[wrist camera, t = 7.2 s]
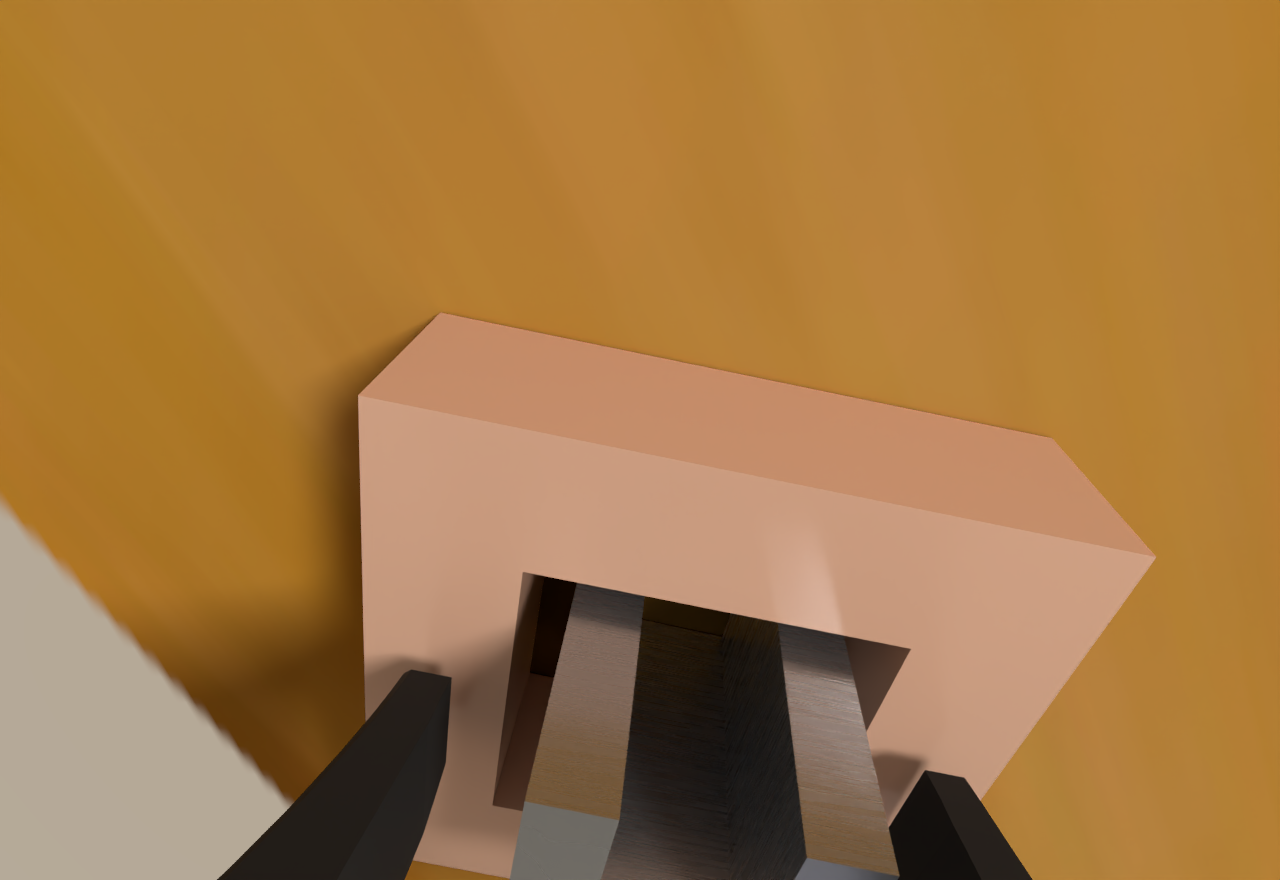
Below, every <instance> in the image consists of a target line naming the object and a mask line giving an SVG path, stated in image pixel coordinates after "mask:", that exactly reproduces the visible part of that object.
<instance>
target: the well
mask: <svg viewBox="0 0 1280 880" xmlns="http://www.w3.org/2000/svg"><path fill="white" fill-rule="evenodd" d="M358 413H359V457H360V500H361V544H362V588H363V631H364V675H365V718H366V721H367V720H368V719H369V718H370V716H371V715H372V714H373V713H374V711H375V710H376V709H377V708H378V706H379V705H380V704H381V703H382V701H383V700H384V699H385V698H386V696H387V695H388V694H389V692H390V691H391V690H392V688H393V687H394V686H395V684H396V683H397V682H398V680H399V679H400V678H401V676H402V675H403V674H404V673H405V672H407V671H409V670H411V669H412V670H417V671H422V672H427V673H432V674H437V675H443V676H448V677H452V682H451V696H450V710H449V725H448V739H447V753H446V764H445V767H444V771H443V774H442V777H441V780H440V783H439V787H438V790H437V793H436V796H435V799H434V803H433V806H432V809H431V812H430V815H429V818H428V821H427V824H426V827H425V830H424V833H423V836H422V839H421V841H420V843H419V846H418V848H417V851H416V853H415V856H414V858H413V860H414V861H419V862H425V863H430V864H435V865H441V866H446V867H451V868H456V869H462V870H467V871H472V872H477V873H483V874H488V875H493V876H498V877H504V878H509V879H510V875H511V870H512V864H513V859H514V854H515V849H516V844H517V838H518V833H519V828H520V823H521V818H522V812H523V807H524V802H525V798H526V793H527V789H528V785H529V781H530V777H531V773H532V768H533V764H534V760H535V756H536V752H537V748H538V744H539V739H540V735H541V731H542V727H543V723H544V719H545V714H546V710H547V706H548V702H549V698H550V694H551V689H552V685H553V681H554V678H553V677H548V676H542V675H537V674H532V673H530V667H531V661H532V654H533V648H534V641H535V634H536V628H537V621H538V615H539V608H540V601H541V595H542V588H543V582H544V576H547V577H552V578H557V579H562V580H567V581H572V582H577V583H582V584H587V585H592V586H597V587H602V588H607V589H612V590H617V591H622V592H627V593H632V594H637V595H642V596H647V597H652V598H657V599H662V600H667V601H672V602H677V603H682V604H688V605H693V606H698V607H703V608H708V609H713V610H718V611H723V612H728V613H733V614H738V615H743V616H748V617H753V618H758V619H763V620H768V621H773V622H778V623H783V624H788V625H793V626H798V627H803V628H808V629H813V630H818V631H823V632H828V633H834V634H839V635H844V639H845V643H846V647H847V652H848V656H849V660H850V665H851V669H852V673H853V678H854V682H855V686H856V690H857V695H858V699H859V703H860V708H861V712H862V716H863V721H864V725H865V729H866V734H867V738H868V742H869V746H870V751H871V755H872V759H873V764H874V768H875V772H876V777H877V781H878V785H879V789H880V794H881V798H882V802H883V807H884V811H885V815H886V820H887V824H888V828H889V826H890V825H891V823H892V821H893V820H894V818H895V817H896V815H897V813H898V812H899V810H900V809H901V807H902V806H903V804H904V802H905V801H906V799H907V798H908V796H909V794H910V793H911V791H912V790H913V788H914V787H915V785H916V783H917V782H918V780H919V779H920V777H921V775H922V774H923V772H924V771H925V770H928V771H933V772H939V773H944V774H949V775H954V776H959V777H964V778H965V779H966V780H967V782H968V783H969V785H970V786H971V788H972V789H973V791H974V792H975V794H976V795H977V797H978V798H979V800H981V799H982V798H983V796H984V795H985V793H986V792H987V791H988V789H989V788H990V786H991V785H992V784H993V782H994V781H995V780H996V778H997V777H998V775H999V774H1000V773H1001V771H1002V770H1003V769H1004V767H1005V766H1006V764H1007V763H1008V762H1009V760H1010V759H1011V757H1012V756H1013V755H1014V753H1015V752H1016V751H1017V749H1018V748H1019V746H1020V745H1021V744H1022V742H1023V741H1024V739H1025V738H1026V737H1027V735H1028V734H1029V733H1030V731H1031V730H1032V728H1033V727H1034V726H1035V724H1036V723H1037V722H1038V720H1039V719H1040V717H1041V716H1042V715H1043V713H1044V712H1045V710H1046V709H1047V708H1048V706H1049V705H1050V704H1051V702H1052V701H1053V699H1054V698H1055V697H1056V695H1057V694H1058V692H1059V691H1060V690H1061V688H1062V687H1063V686H1064V684H1065V683H1066V681H1067V680H1068V679H1069V677H1070V676H1071V675H1072V673H1073V672H1074V670H1075V669H1076V668H1077V666H1078V665H1079V663H1080V662H1081V661H1082V659H1083V658H1084V657H1085V655H1086V654H1087V652H1088V651H1089V650H1090V648H1091V647H1092V645H1093V644H1094V643H1095V641H1096V640H1097V639H1098V637H1099V636H1100V634H1101V633H1102V632H1103V630H1104V629H1105V628H1106V626H1107V625H1108V623H1109V622H1110V621H1111V619H1112V618H1113V616H1114V615H1115V614H1116V612H1117V611H1118V610H1119V608H1120V607H1121V605H1122V604H1123V603H1124V601H1125V600H1126V599H1127V597H1128V596H1129V594H1130V593H1131V592H1132V590H1133V589H1134V587H1135V586H1136V585H1137V583H1138V582H1139V581H1140V579H1141V578H1142V576H1143V575H1144V574H1145V572H1146V571H1147V569H1148V568H1149V567H1150V565H1151V564H1152V563H1153V561H1154V560H1155V558H1156V556H1155V555H1154V554H1153V553H1152V552H1151V550H1150V549H1149V548H1148V547H1147V546H1146V545H1145V544H1144V543H1143V541H1142V540H1141V539H1140V538H1139V537H1138V536H1137V535H1136V533H1135V532H1134V531H1133V530H1132V529H1131V528H1130V527H1129V525H1128V524H1127V523H1126V522H1125V521H1124V520H1123V519H1122V517H1121V516H1120V515H1119V514H1118V513H1117V512H1116V511H1115V509H1114V508H1113V507H1112V506H1111V505H1110V504H1109V503H1108V501H1107V500H1106V499H1105V498H1104V497H1103V496H1102V495H1101V494H1100V492H1099V491H1098V490H1097V489H1096V488H1095V487H1094V486H1093V484H1092V483H1091V482H1090V481H1089V480H1088V479H1087V478H1086V476H1085V475H1084V474H1083V473H1082V472H1081V471H1080V470H1079V468H1078V467H1077V466H1076V465H1075V464H1074V463H1073V462H1072V460H1071V459H1070V458H1069V457H1068V456H1067V455H1066V454H1065V452H1064V451H1063V450H1062V449H1061V448H1060V447H1059V446H1058V445H1057V443H1056V442H1055V441H1054V440H1053V439H1052V438H1048V437H1043V436H1038V435H1034V434H1029V433H1024V432H1019V431H1014V430H1009V429H1004V428H999V427H995V426H990V425H985V424H980V423H975V422H970V421H965V420H961V419H956V418H951V417H946V416H941V415H936V414H931V413H927V412H922V411H917V410H912V409H907V408H902V407H897V406H892V405H888V404H883V403H878V402H873V401H868V400H863V399H858V398H854V397H849V396H844V395H839V394H834V393H829V392H824V391H819V390H815V389H810V388H805V387H800V386H795V385H790V384H785V383H781V382H776V381H771V380H766V379H761V378H756V377H751V376H746V375H742V374H737V373H732V372H727V371H722V370H717V369H712V368H708V367H703V366H698V365H693V364H688V363H683V362H678V361H674V360H669V359H664V358H659V357H654V356H649V355H644V354H639V353H635V352H630V351H625V350H620V349H615V348H610V347H605V346H601V345H596V344H591V343H586V342H581V341H576V340H571V339H566V338H562V337H557V336H552V335H547V334H542V333H537V332H532V331H528V330H523V329H518V328H513V327H508V326H503V325H498V324H493V323H489V322H484V321H479V320H474V319H469V318H464V317H459V316H455V315H450V314H445V313H439V314H438V315H437V316H436V317H435V318H434V319H433V320H432V321H431V322H430V323H429V324H428V325H427V326H426V327H425V328H424V329H423V331H422V332H421V333H420V334H419V335H418V336H417V337H416V338H415V339H414V340H413V341H412V342H411V343H410V344H409V345H408V346H407V347H406V348H405V349H404V350H403V351H402V352H401V353H400V354H399V355H398V356H397V357H396V358H395V359H394V360H393V361H392V362H391V363H390V364H389V365H388V366H387V367H386V368H385V369H384V370H383V371H382V372H381V373H380V374H379V375H378V376H377V377H376V378H375V379H374V380H373V381H372V382H371V383H370V384H369V385H368V386H367V387H366V388H365V389H364V390H363V391H362V392H361V393H360V394H359V395H358Z"/></svg>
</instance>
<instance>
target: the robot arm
mask: <svg viewBox="0 0 1280 880" xmlns="http://www.w3.org/2000/svg"><path fill="white" fill-rule="evenodd" d="M451 682H452V677H448V676H443V675H437V674H432V673H427V672H422V671H417V670H412V669H411V670H409V671H407V672H405V673H404V674H403V675H402V676H401V678H400V679H399V680H398V682H397V683H396V684H395V686H394V687H393V688H392V690H391V691H390V692H389V694H388V695H387V696H386V698H385V699H384V700H383V701H382V703H381V704H380V705H379V706H378V708H377V709H376V710H375V711H374V713H373V714H372V715H371V716H370V718H369V719H368V720H367V721H366V722H365V724H364V725H363V726H362V727H361V728H360V730H359V731H358V732H357V733H356V734H355V735H354V737H353V738H352V739H351V740H350V741H349V742H348V744H347V745H346V746H345V747H344V748H343V749H342V751H341V752H340V753H339V754H338V755H337V756H336V757H335V758H334V760H333V761H332V762H331V763H330V764H329V765H328V766H327V767H326V768H325V769H324V771H323V772H322V773H321V774H320V775H319V776H318V777H317V778H316V779H315V780H314V782H313V783H312V784H311V785H310V786H309V787H308V788H307V789H306V790H305V791H304V793H303V794H302V795H301V796H300V797H299V798H298V799H297V800H296V801H295V802H294V803H293V804H292V805H291V807H290V808H289V809H288V810H287V811H286V812H285V813H284V814H283V815H282V816H281V817H280V818H279V819H278V820H277V821H276V822H275V823H274V824H273V825H272V826H271V827H270V828H269V829H268V830H267V831H266V832H265V833H264V834H263V835H262V836H261V837H260V838H259V839H258V840H257V841H256V842H255V843H254V844H253V845H252V846H251V847H250V848H249V849H248V850H247V851H246V852H245V853H244V854H243V855H242V856H241V857H240V858H239V859H238V860H237V861H236V862H235V863H234V864H233V865H232V866H231V867H230V868H229V869H228V870H227V871H226V872H225V873H224V874H223V875H222V876H221V877H219V879H217V880H404V879H405V877H406V875H407V872H408V870H409V867H410V865H411V863H412V860H413V858H414V856H415V853H416V851H417V848H418V846H419V843H420V841H421V839H422V836H423V833H424V830H425V827H426V824H427V821H428V818H429V815H430V812H431V809H432V806H433V803H434V799H435V796H436V793H437V790H438V787H439V783H440V780H441V777H442V774H443V771H444V767H445V764H446V753H447V739H448V725H449V710H450V696H451ZM889 833H890V837H891V841H892V845H893V850H894V854H895V858H896V863H897V867H898V871H899V876H900V877H899V878H898V880H1032V878H1031V877H1030V875H1029V874H1028V872H1027V871H1026V869H1025V868H1024V866H1023V865H1022V863H1021V862H1020V860H1019V859H1018V857H1017V856H1016V854H1015V853H1014V851H1013V850H1012V848H1011V847H1010V845H1009V844H1008V842H1007V841H1006V839H1005V838H1004V836H1003V835H1002V833H1001V832H1000V830H999V828H998V827H997V825H996V824H995V822H994V821H993V819H992V818H991V816H990V815H989V813H988V812H987V810H986V809H985V807H984V806H983V804H982V803H981V801H980V800H979V798H978V797H977V795H976V794H975V792H974V791H973V789H972V788H971V786H970V785H969V783H968V782H967V780H966V779H965V778H964V777H959V776H954V775H949V774H944V773H939V772H933V771H928V770H925V771H924V772H923V774H922V775H921V777H920V779H919V780H918V782H917V783H916V785H915V787H914V788H913V790H912V791H911V793H910V794H909V796H908V798H907V799H906V801H905V802H904V804H903V806H902V807H901V809H900V810H899V812H898V813H897V815H896V817H895V818H894V820H893V821H892V823H891V825H890V826H889Z"/></svg>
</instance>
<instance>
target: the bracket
mask: <svg viewBox="0 0 1280 880" xmlns="http://www.w3.org/2000/svg"><path fill="white" fill-rule="evenodd" d="M644 597H645V596H642V595H637V594H632V593H627V592H622V591H617V590H612V589H607V588H602V587H597V586H592V585H587V584H582V583H577V585H576V589H575V594H574V598H573V602H572V606H571V610H570V614H569V619H568V623H567V627H566V631H565V635H564V639H563V644H562V648H561V652H560V656H559V660H558V664H557V669H556V673H555V677H554V681H553V685H552V689H551V694H550V698H549V702H548V706H547V710H546V714H545V719H544V723H543V727H542V731H541V735H540V739H539V744H538V748H537V752H536V756H535V760H534V764H533V768H532V773H531V777H530V781H529V785H528V789H527V793H526V798H525V802H524V807H523V812H522V818H521V823H520V828H519V833H518V838H517V844H516V849H515V854H514V859H513V864H512V870H511V875H510V880H898V878H899V877H900V876H899V871H898V867H897V863H896V858H895V854H894V850H893V845H892V841H891V837H890V833H889V828H888V824H887V820H886V815H885V811H884V807H883V802H882V798H881V794H880V789H879V785H878V781H877V777H876V772H875V768H874V764H873V759H872V755H871V751H870V746H869V742H868V738H867V734H866V729H865V725H864V721H863V716H862V712H861V708H860V703H859V699H858V695H857V690H856V686H855V682H854V678H853V673H852V669H851V665H850V660H849V656H848V652H847V647H846V643H845V639H844V635H839V634H834V633H828V632H823V631H818V630H813V629H808V628H803V627H798V626H793V625H788V624H783V623H778V622H773V621H768V620H763V619H758V618H753V617H748V616H743V615H738V614H733V613H731V614H730V617H729V620H728V622H727V625H726V628H725V631H724V633H723V636H718V635H713V634H708V633H703V632H699V631H694V630H689V629H684V628H679V627H675V626H670V625H665V624H660V623H655V622H651V621H646V620H642V614H643V606H644Z"/></svg>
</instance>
